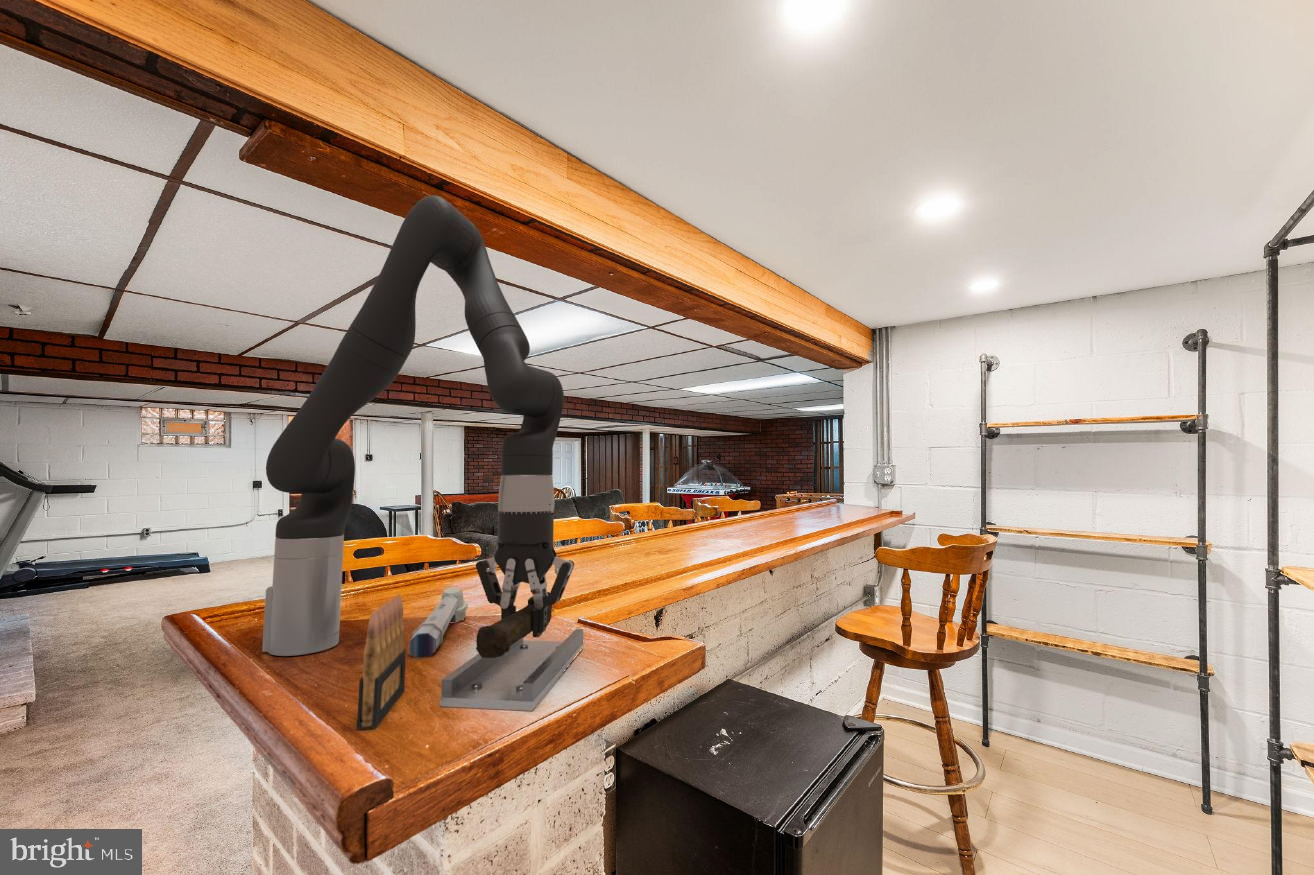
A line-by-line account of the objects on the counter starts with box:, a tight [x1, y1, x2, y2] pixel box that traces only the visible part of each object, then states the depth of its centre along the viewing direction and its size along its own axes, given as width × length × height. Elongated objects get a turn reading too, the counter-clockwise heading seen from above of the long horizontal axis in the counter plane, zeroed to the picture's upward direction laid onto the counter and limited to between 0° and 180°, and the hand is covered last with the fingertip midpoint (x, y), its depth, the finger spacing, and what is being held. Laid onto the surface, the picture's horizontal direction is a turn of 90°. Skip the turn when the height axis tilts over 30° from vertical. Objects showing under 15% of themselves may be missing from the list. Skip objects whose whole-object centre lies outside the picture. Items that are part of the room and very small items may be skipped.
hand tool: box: [475, 591, 553, 658], centre depth 73 cm, size 19×4×5 cm, turn 167°
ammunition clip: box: [356, 593, 407, 731], centre depth 62 cm, size 11×2×12 cm, turn 10°
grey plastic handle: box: [408, 586, 469, 659], centre depth 92 cm, size 5×7×25 cm
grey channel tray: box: [440, 628, 585, 712], centre depth 73 cm, size 11×23×3 cm, turn 174°
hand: (524, 634), depth 73 cm, fingers closed on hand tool, 3 cm apart
